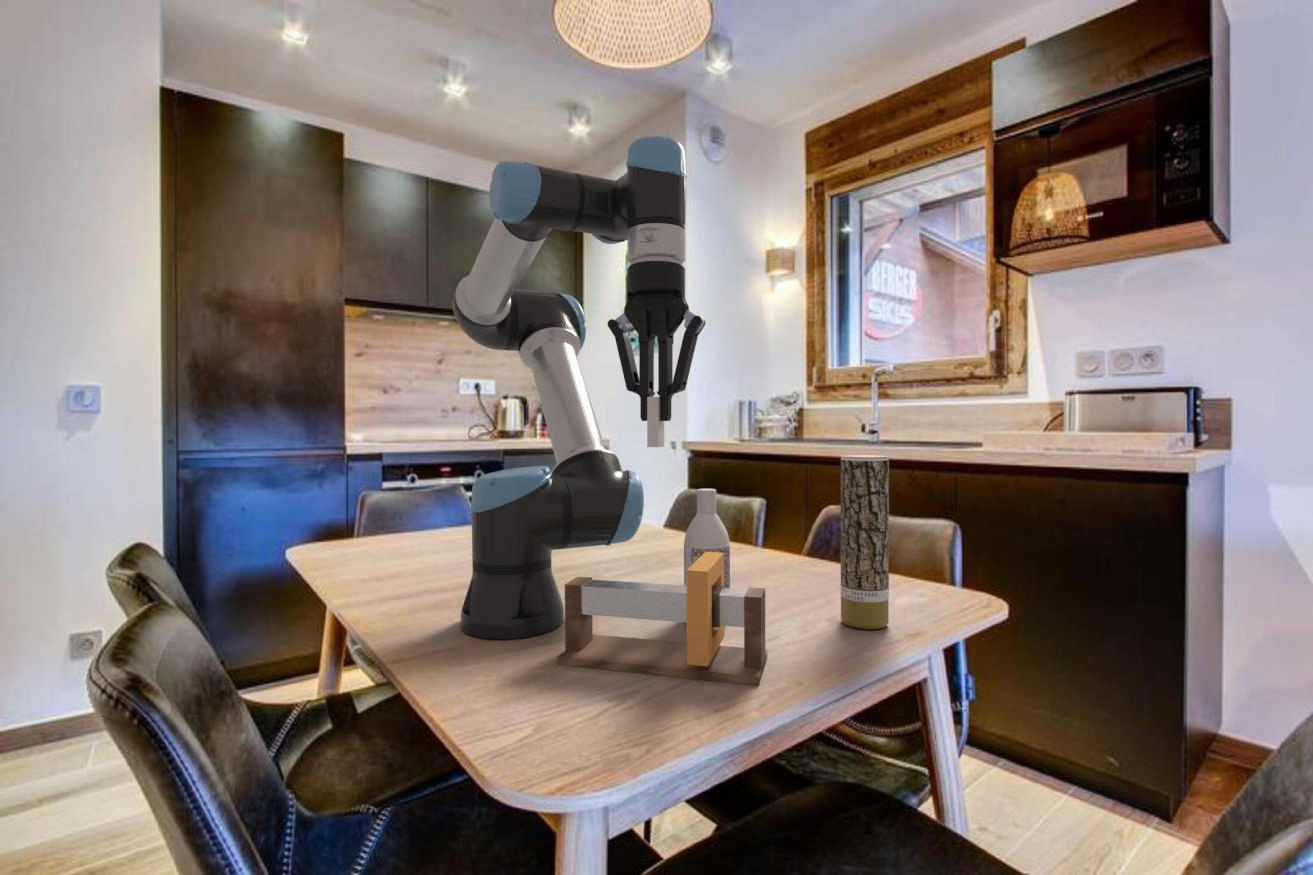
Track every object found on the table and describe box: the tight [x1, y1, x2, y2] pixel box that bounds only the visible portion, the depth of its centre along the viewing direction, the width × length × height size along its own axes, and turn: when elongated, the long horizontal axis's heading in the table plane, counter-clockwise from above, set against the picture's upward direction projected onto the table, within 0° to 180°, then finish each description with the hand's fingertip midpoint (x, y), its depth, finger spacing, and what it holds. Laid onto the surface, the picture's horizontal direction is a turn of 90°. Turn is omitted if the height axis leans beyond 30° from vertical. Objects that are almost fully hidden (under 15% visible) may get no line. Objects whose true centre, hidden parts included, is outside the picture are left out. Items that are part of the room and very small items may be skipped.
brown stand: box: [557, 576, 768, 686], centre depth 81 cm, size 25×9×10 cm, turn 74°
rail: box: [580, 579, 748, 628], centre depth 81 cm, size 22×4×4 cm, turn 74°
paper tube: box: [840, 454, 890, 631], centre depth 95 cm, size 7×7×25 cm
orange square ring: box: [686, 552, 725, 666], centre depth 79 cm, size 2×11×11 cm, turn 164°
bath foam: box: [683, 488, 731, 588], centre depth 98 cm, size 7×7×20 cm
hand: (655, 446), depth 84 cm, fingers closed
